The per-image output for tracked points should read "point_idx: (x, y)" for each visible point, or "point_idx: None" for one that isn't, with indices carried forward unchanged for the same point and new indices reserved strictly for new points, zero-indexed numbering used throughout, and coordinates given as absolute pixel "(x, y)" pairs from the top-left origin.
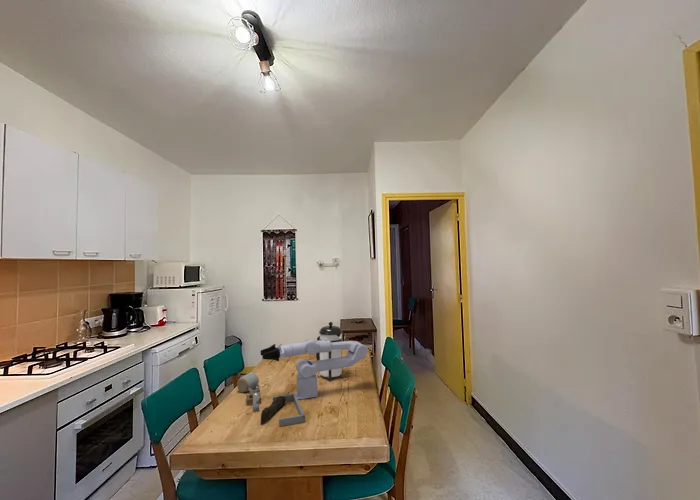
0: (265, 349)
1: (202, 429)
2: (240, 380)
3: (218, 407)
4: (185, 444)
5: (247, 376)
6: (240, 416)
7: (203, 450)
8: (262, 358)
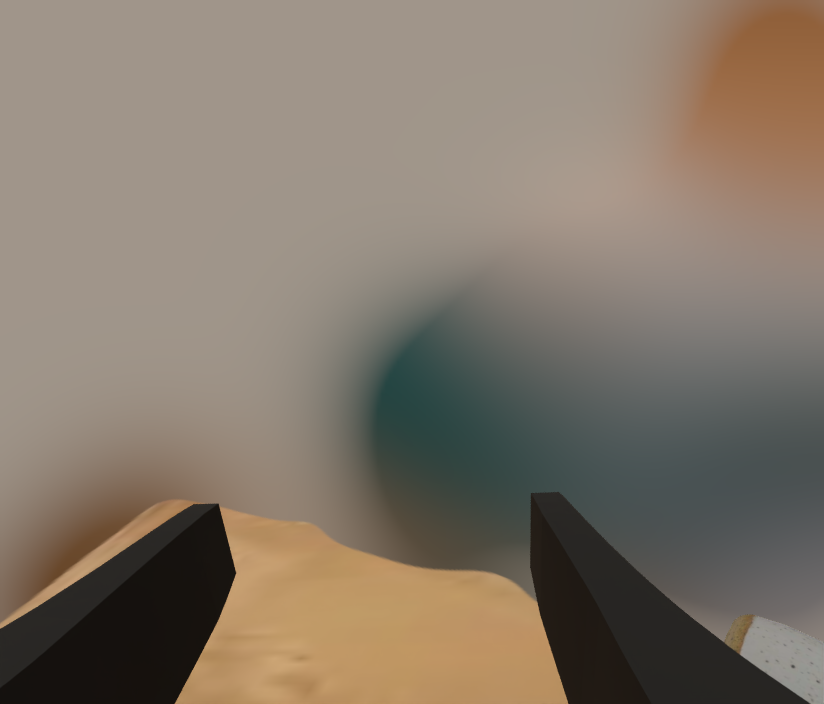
0: (568, 563)
1: (265, 533)
2: (730, 630)
3: (463, 572)
4: (200, 503)
5: (807, 684)
6: (271, 695)
7: (103, 552)
8: (234, 568)
